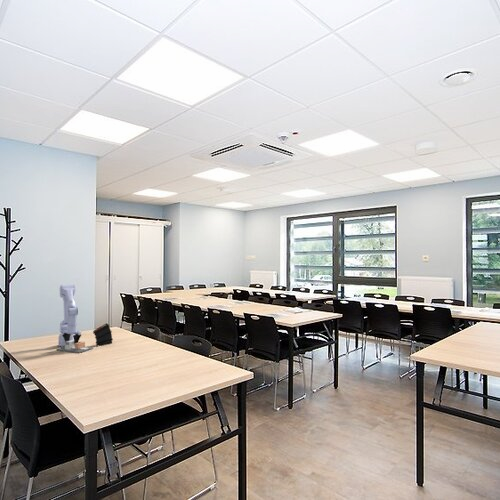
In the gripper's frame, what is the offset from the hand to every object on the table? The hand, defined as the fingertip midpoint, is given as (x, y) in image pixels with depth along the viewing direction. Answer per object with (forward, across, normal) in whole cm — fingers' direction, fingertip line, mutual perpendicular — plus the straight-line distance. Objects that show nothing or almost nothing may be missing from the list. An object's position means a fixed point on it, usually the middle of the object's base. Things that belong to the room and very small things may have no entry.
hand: (71, 344), depth 246 cm
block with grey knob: (+2, +7, 0) cm, 7 cm away
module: (+2, 0, 0) cm, 2 cm away
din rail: (+3, +3, 0) cm, 5 cm away
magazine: (+4, +9, +20) cm, 22 cm away
